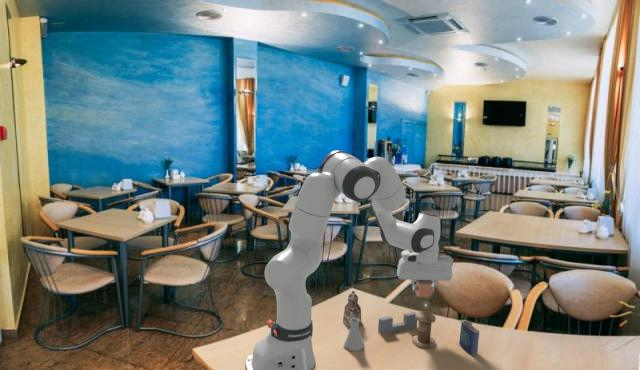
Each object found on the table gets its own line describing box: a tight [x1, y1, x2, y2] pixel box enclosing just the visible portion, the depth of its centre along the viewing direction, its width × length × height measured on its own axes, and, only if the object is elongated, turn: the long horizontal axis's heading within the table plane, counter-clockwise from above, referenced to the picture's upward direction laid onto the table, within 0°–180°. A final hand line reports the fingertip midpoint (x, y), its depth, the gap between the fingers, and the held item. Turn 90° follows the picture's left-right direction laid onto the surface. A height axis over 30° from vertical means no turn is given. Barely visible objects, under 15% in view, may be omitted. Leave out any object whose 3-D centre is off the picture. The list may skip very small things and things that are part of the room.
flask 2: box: [458, 319, 480, 358], centre depth 145 cm, size 9×3×11 cm, turn 13°
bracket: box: [377, 311, 418, 335], centre depth 158 cm, size 16×2×6 cm, turn 112°
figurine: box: [342, 290, 362, 327], centre depth 162 cm, size 7×7×12 cm
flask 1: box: [343, 318, 365, 352], centre depth 145 cm, size 7×7×10 cm
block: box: [415, 280, 432, 298], centre depth 156 cm, size 4×3×6 cm
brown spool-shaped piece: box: [411, 311, 437, 349], centre depth 149 cm, size 8×8×10 cm
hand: (423, 290), depth 157 cm, fingers closed on block, 5 cm apart
